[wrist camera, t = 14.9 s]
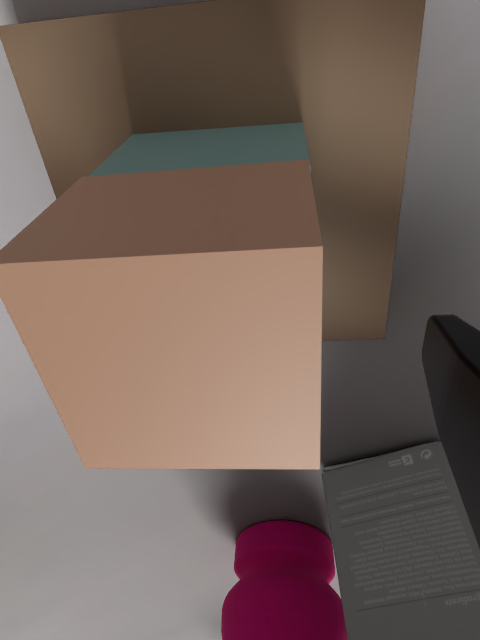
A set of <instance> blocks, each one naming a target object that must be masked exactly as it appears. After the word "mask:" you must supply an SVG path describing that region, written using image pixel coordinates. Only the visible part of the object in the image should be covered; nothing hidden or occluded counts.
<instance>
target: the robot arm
mask: <svg viewBox="0 0 480 640" xmlns="http://www.w3.org/2000/svg"><path fill="white" fill-rule="evenodd" d="M422 362H423V367H424V371H425V376H426V380H427V385H428V389H429V394H430V398H431V403H432V407H433V412H434V416H435V421H436V425H437V429H438V433H439V436H440V439H441V442H442V445H443V448H444V451H445V454H446V457H447V459H448V462H449V465H450V468H451V471H452V473H453V476H454V479H455V482H456V485H457V487H458V490H459V493H460V496H461V499H462V501H463V504H464V507H465V510H466V513H467V515H468V518H469V521H470V524H471V527H472V529H473V532H474V535H475V538H476V541H477V543H478V546H479V549H480V331H479V330H477V329H476V328H474V327H473V326H471V325H469V324H468V323H466V322H465V321H463V320H462V319H460V318H458V317H457V316H455V315H432V316H431V317H430V318H429V320H428V322H427V327H426V332H425V337H424V343H423V348H422Z"/></svg>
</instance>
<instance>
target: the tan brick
mask: <svg viewBox="0 0 480 640" xmlns="http://www.w3.org/2000/svg"><path fill="white" fill-rule="evenodd" d="M322 275H323V244H322V238H321V232H320V226H319V220H318V215H317V209H316V203H315V197H314V191H313V185H312V179H311V173H310V167H309V161H308V159H307V160H294V161H281V162H268V163H255V164H242V165H230V166H217V167H204V168H191V169H178V170H165V171H152V172H139V173H126V174H113V175H100V176H87V177H81V178H80V179H79V180H77V181H76V182H75V183H74V184H73V185H72V186H71V187H70V188H69V189H68V190H66V191H65V192H64V193H63V194H62V195H61V196H60V197H59V198H58V199H56V200H55V201H54V202H53V203H52V204H51V205H50V206H49V207H48V208H47V209H45V210H44V211H43V212H42V213H41V214H40V215H39V216H38V217H37V218H36V219H34V220H33V221H32V222H31V223H30V224H29V225H28V226H27V227H26V228H24V229H23V230H22V231H21V232H20V233H19V234H18V235H17V236H16V237H15V238H13V239H12V240H11V241H10V242H9V243H8V244H7V245H6V246H5V247H4V248H2V249H1V250H0V297H1V299H2V301H3V303H4V305H5V307H6V309H7V311H8V313H9V315H10V317H11V319H12V321H13V323H14V325H15V327H16V329H17V331H18V333H19V335H20V337H21V339H22V341H23V343H24V345H25V347H26V349H27V351H28V353H29V356H30V358H31V360H32V362H33V364H34V366H35V368H36V370H37V372H38V374H39V376H40V378H41V380H42V382H43V384H44V386H45V388H46V390H47V392H48V394H49V396H50V398H51V400H52V402H53V404H54V406H55V408H56V410H57V412H58V414H59V416H60V418H61V420H62V422H63V424H64V427H65V429H66V431H67V433H68V435H69V437H70V439H71V441H72V443H73V445H74V447H75V449H76V451H77V453H78V455H79V457H80V459H81V461H82V463H83V465H84V467H85V468H94V469H320V429H321V352H322Z"/></svg>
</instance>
